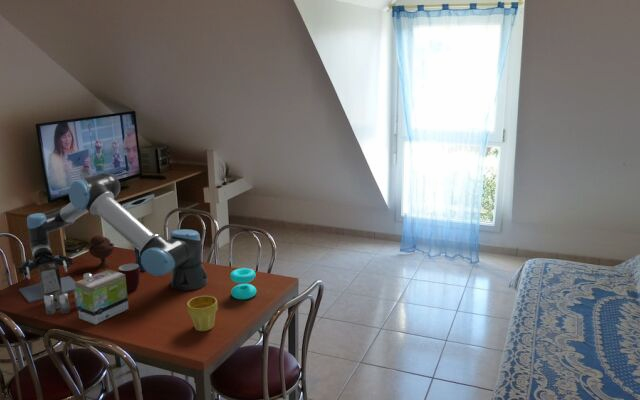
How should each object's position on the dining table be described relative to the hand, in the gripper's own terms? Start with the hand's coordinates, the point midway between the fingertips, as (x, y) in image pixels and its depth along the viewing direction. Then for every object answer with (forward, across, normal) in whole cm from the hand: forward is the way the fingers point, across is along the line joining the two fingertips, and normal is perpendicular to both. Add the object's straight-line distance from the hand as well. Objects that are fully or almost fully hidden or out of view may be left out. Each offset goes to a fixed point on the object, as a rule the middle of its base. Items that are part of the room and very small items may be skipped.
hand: (47, 272), depth 229 cm
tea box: (+28, -16, -10) cm, 34 cm away
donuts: (+41, -66, -10) cm, 79 cm away
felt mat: (-6, 0, -10) cm, 12 cm away
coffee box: (+10, 0, -10) cm, 14 cm away
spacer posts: (+11, -6, -10) cm, 16 cm away
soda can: (-9, -39, -10) cm, 42 cm away
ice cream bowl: (-22, -24, -10) cm, 34 cm away
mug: (+12, -28, -10) cm, 32 cm away
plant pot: (+58, -44, -10) cm, 73 cm away
